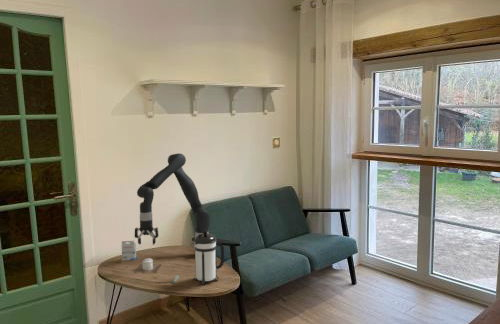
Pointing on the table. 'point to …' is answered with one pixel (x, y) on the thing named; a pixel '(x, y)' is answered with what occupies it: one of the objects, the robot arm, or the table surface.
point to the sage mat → (170, 282)
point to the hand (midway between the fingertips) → (146, 244)
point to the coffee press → (206, 257)
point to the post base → (154, 270)
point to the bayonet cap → (147, 264)
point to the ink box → (128, 250)
